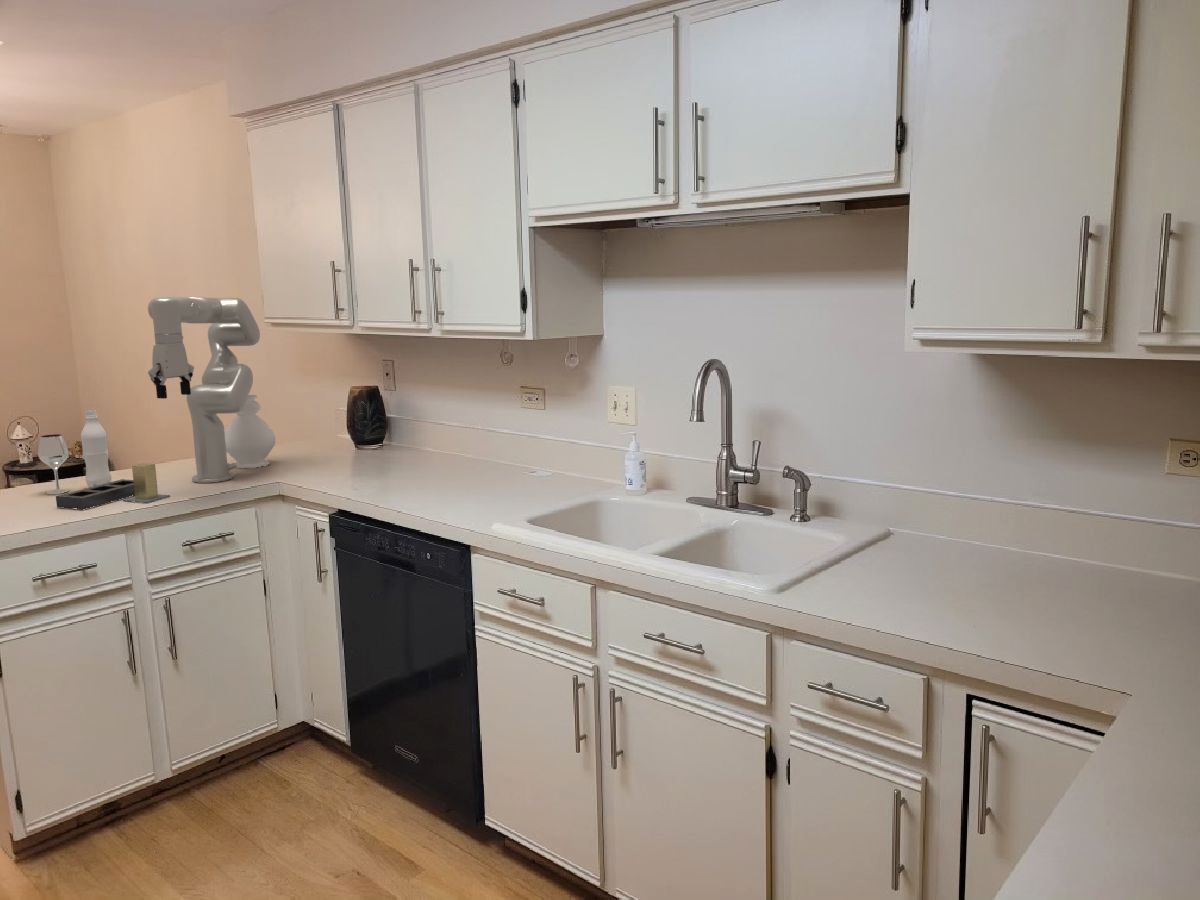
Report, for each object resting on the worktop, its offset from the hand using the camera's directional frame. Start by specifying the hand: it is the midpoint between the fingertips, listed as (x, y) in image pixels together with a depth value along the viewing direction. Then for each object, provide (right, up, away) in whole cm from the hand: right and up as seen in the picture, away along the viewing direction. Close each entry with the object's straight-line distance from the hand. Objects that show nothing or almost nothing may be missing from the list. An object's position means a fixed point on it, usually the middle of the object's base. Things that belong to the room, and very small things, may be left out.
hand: (174, 396), depth 270 cm
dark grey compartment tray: (-20, -31, -2) cm, 37 cm away
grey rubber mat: (-8, -31, -1) cm, 32 cm away
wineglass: (-41, -30, +9) cm, 51 cm away
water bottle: (-31, -29, +15) cm, 45 cm away
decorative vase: (+4, -22, +50) cm, 54 cm away
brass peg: (-8, -31, -1) cm, 32 cm away
